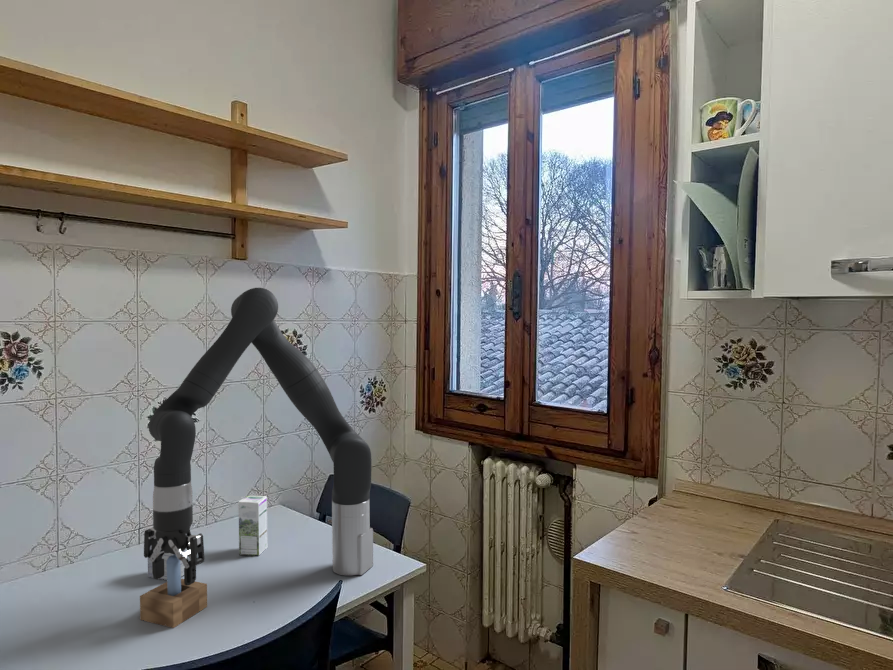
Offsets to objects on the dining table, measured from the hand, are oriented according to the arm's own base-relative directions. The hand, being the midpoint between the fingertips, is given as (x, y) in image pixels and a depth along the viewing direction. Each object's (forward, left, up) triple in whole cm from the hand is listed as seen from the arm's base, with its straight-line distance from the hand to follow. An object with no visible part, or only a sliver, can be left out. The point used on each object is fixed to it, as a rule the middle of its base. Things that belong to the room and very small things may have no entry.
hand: (174, 580), depth 118 cm
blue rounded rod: (0, 0, -7) cm, 7 cm away
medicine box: (+16, -13, -7) cm, 22 cm away
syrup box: (+6, -32, -7) cm, 33 cm away
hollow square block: (0, 0, -7) cm, 7 cm away
